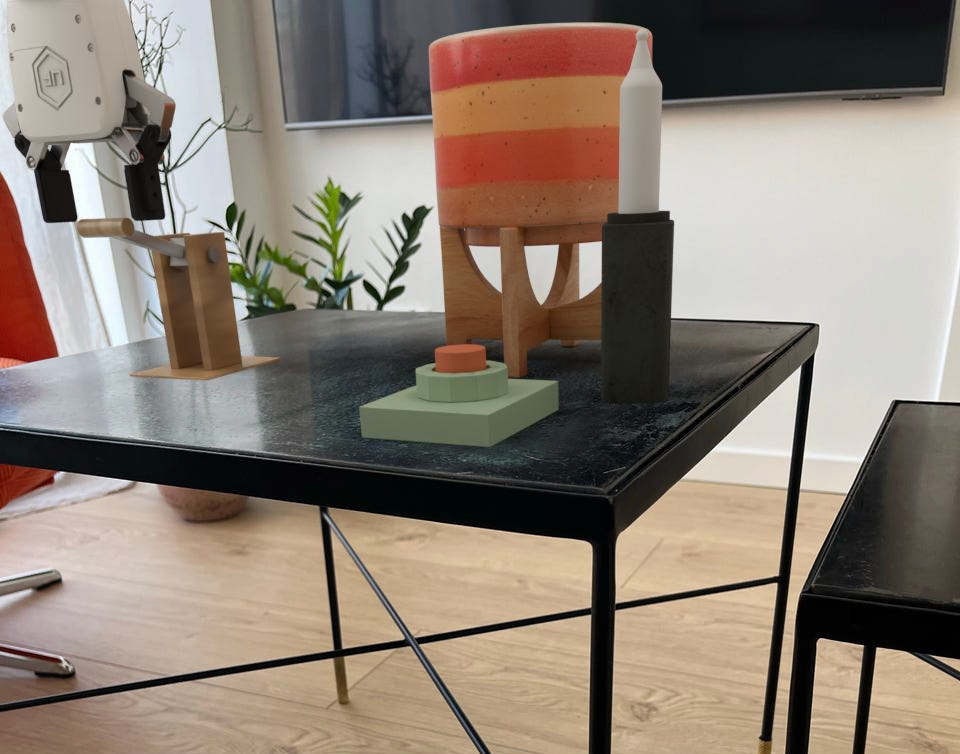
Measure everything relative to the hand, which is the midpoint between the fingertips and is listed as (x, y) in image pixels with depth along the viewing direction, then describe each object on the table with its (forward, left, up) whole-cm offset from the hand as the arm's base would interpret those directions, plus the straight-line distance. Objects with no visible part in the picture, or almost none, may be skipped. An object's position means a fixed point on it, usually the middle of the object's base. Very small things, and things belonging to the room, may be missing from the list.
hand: (104, 221), depth 83 cm
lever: (+5, 0, -3) cm, 6 cm away
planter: (+25, -28, -15) cm, 41 cm away
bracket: (+9, 0, -14) cm, 17 cm away
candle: (+10, -42, -15) cm, 46 cm away
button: (-2, -33, -11) cm, 35 cm away
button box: (-2, -33, -14) cm, 36 cm away
